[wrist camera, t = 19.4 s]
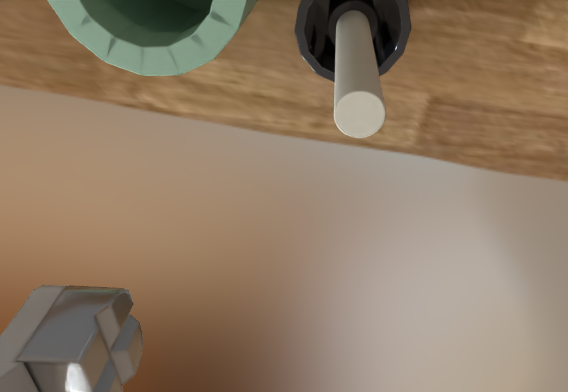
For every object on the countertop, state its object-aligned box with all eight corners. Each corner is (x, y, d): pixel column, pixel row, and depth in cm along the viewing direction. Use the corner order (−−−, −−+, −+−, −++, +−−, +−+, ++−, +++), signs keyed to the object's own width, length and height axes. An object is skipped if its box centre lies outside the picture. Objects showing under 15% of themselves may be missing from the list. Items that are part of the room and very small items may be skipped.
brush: (328, -16, 31) (319, 76, 17) (374, -18, 30) (404, 75, 16) (328, 30, 32) (320, 150, 18) (372, 28, 32) (397, 150, 18)
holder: (301, -48, 31) (291, -30, 25) (401, -53, 30) (416, -36, 24) (304, 49, 34) (296, 85, 28) (395, 46, 33) (406, 83, 27)
